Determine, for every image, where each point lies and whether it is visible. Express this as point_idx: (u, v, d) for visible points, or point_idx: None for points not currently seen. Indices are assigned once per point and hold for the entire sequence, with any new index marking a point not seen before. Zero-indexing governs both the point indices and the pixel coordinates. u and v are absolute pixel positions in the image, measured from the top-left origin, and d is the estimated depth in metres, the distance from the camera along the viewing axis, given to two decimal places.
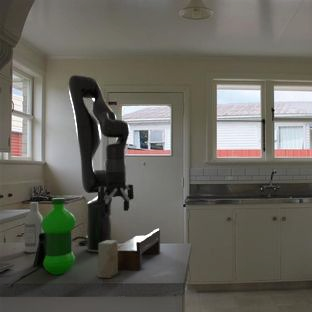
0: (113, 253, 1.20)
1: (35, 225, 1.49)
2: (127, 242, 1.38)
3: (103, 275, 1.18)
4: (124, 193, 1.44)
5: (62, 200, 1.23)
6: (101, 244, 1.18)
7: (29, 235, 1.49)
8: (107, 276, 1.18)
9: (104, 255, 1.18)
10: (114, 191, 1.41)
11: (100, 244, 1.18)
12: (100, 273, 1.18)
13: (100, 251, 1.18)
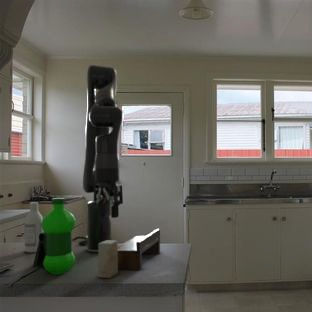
0: (113, 253, 1.20)
1: (35, 225, 1.49)
2: (127, 242, 1.38)
3: (103, 275, 1.18)
4: (107, 195, 1.17)
5: (62, 200, 1.23)
6: (101, 244, 1.18)
7: (29, 235, 1.49)
8: (107, 276, 1.18)
9: (104, 255, 1.18)
10: (99, 191, 1.20)
11: (100, 244, 1.18)
12: (100, 273, 1.18)
13: (100, 251, 1.18)
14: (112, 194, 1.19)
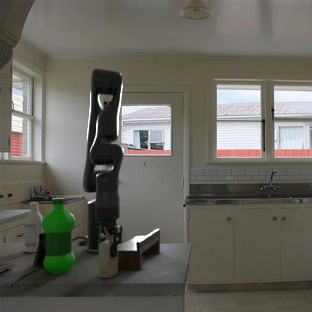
0: None
1: (35, 225, 1.49)
2: (127, 242, 1.38)
3: (103, 275, 1.18)
4: (106, 234, 1.18)
5: (62, 200, 1.23)
6: (101, 244, 1.18)
7: (29, 235, 1.49)
8: (107, 276, 1.18)
9: (104, 255, 1.18)
10: (99, 228, 1.20)
11: (100, 244, 1.18)
12: (100, 273, 1.18)
13: (100, 251, 1.18)
14: (112, 233, 1.19)
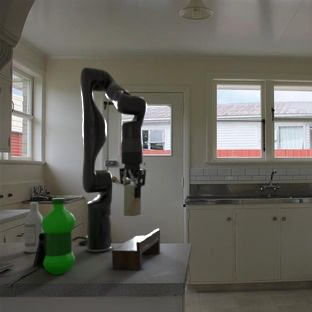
0: None
1: (35, 225, 1.49)
2: (127, 242, 1.38)
3: (128, 214, 1.30)
4: (131, 176, 1.30)
5: (62, 200, 1.23)
6: (126, 186, 1.31)
7: (29, 235, 1.49)
8: (132, 214, 1.30)
9: (129, 196, 1.30)
10: (124, 172, 1.32)
11: (126, 186, 1.31)
12: (125, 212, 1.31)
13: (126, 192, 1.31)
14: (136, 176, 1.31)
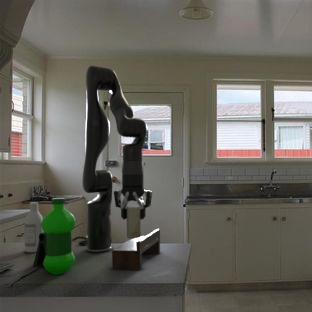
0: None
1: (35, 225, 1.49)
2: (127, 242, 1.38)
3: (134, 236, 1.31)
4: (137, 199, 1.31)
5: (62, 200, 1.23)
6: (131, 208, 1.31)
7: (29, 235, 1.49)
8: (138, 236, 1.31)
9: (134, 218, 1.31)
10: (126, 195, 1.31)
11: (130, 208, 1.30)
12: (130, 235, 1.30)
13: (130, 215, 1.30)
14: (139, 198, 1.33)
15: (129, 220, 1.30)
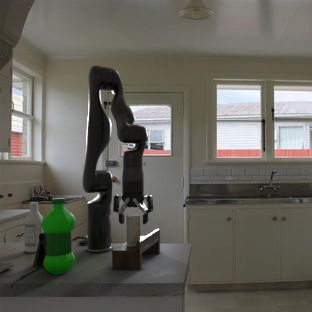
0: None
1: (35, 225, 1.49)
2: None
3: (134, 245, 1.31)
4: (138, 204, 1.31)
5: (62, 200, 1.23)
6: (131, 217, 1.31)
7: (29, 235, 1.49)
8: None
9: (134, 226, 1.31)
10: (126, 201, 1.31)
11: (130, 217, 1.30)
12: (131, 243, 1.30)
13: (130, 223, 1.30)
14: (140, 203, 1.33)
15: (129, 229, 1.30)
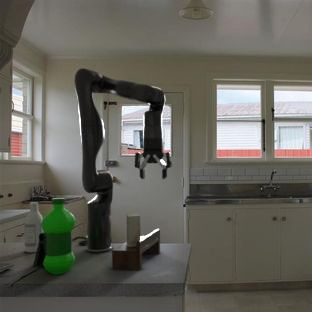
0: None
1: (35, 225, 1.49)
2: None
3: (134, 245, 1.31)
4: (158, 160, 1.41)
5: (62, 200, 1.23)
6: (131, 217, 1.31)
7: (29, 235, 1.49)
8: None
9: (134, 226, 1.31)
10: (147, 157, 1.42)
11: (130, 217, 1.30)
12: (131, 243, 1.30)
13: (130, 223, 1.30)
14: None
15: (129, 229, 1.30)
